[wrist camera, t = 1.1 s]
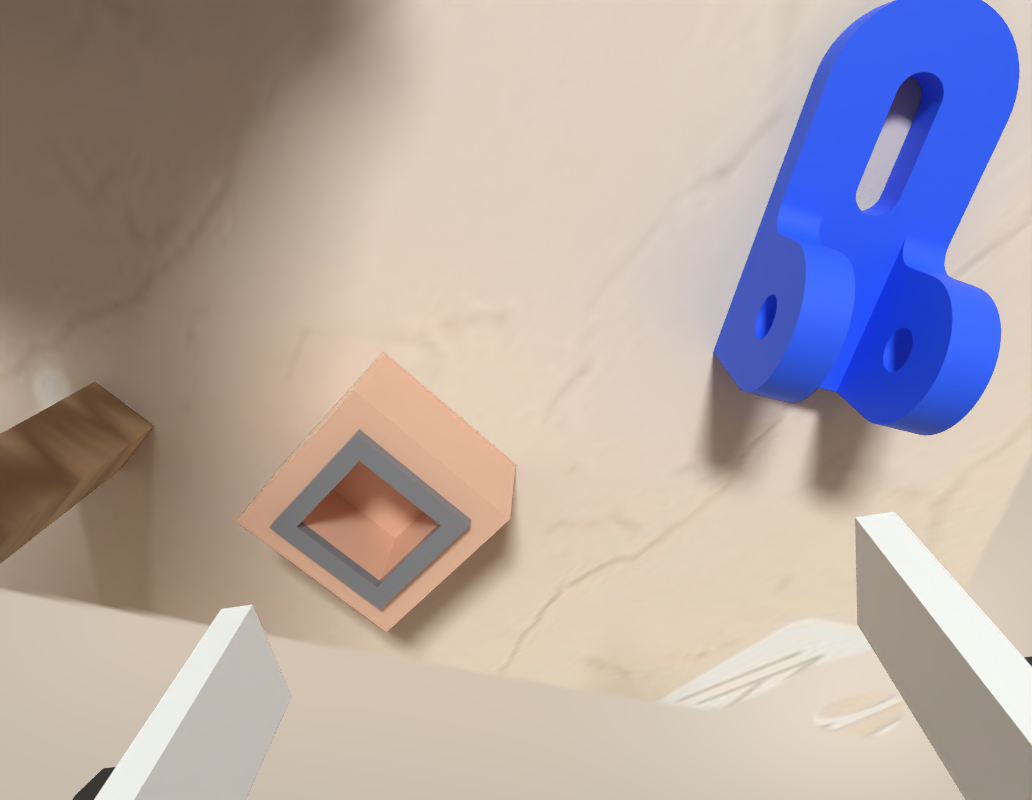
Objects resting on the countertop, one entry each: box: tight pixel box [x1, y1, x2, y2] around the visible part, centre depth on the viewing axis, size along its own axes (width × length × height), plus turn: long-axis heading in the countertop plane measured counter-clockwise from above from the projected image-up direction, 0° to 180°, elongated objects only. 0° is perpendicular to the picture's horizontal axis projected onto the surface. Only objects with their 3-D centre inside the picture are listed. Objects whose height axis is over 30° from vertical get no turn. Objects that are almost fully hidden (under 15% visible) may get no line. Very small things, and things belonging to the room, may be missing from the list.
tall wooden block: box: [0, 382, 154, 563], centre depth 34 cm, size 4×4×14 cm
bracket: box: [713, 0, 1019, 435], centre depth 30 cm, size 18×8×9 cm, turn 166°
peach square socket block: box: [236, 352, 516, 632], centre depth 37 cm, size 10×10×7 cm
